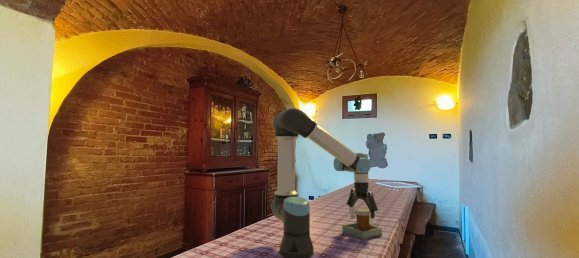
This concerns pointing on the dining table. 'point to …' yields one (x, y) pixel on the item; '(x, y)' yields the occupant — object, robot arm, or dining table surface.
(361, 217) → the disposable coffee cup
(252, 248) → the dining table surface
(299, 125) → the robot arm
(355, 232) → the bin
